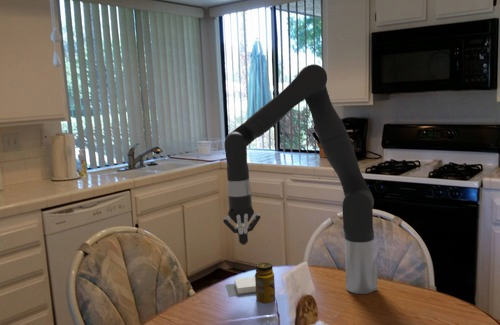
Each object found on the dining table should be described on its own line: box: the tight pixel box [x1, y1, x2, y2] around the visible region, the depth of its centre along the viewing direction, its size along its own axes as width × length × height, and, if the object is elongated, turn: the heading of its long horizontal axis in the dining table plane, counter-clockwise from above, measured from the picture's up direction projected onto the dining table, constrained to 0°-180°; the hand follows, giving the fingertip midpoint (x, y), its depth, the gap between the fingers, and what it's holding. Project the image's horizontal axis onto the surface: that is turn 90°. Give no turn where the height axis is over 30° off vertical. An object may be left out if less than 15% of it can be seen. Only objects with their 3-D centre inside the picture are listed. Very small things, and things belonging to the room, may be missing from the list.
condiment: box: [254, 262, 276, 304], centre depth 146 cm, size 7×8×12 cm
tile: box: [233, 275, 256, 294], centre depth 156 cm, size 2×8×8 cm
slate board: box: [225, 283, 256, 298], centre depth 156 cm, size 13×10×1 cm
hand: (243, 244), depth 153 cm, fingers closed
